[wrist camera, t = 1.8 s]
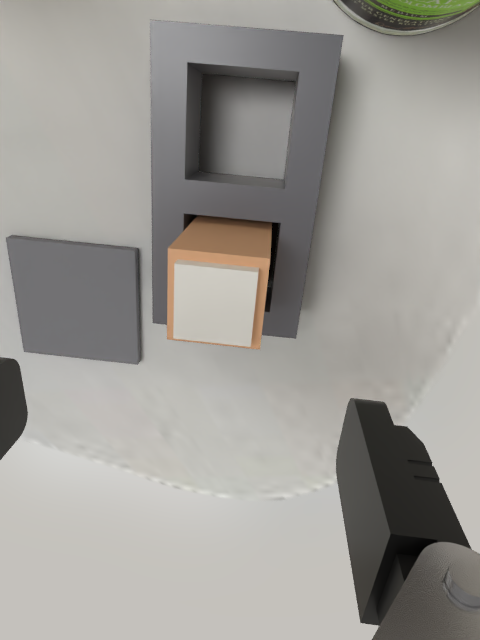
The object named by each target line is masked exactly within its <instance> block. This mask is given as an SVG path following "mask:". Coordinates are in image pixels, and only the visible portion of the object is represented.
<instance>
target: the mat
mask: <svg viewBox="0 0 480 640" xmlns="http://www.w3.org/2000/svg"><path fill="white" fill-rule="evenodd" d="M6 242H7V248H8V254H9V261H10V267H11V273H12V279H13V286H14V292H15V298H16V304H17V311H18V317H19V323H20V330H21V336H22V342H23V348H24V352H31V353H39V354H48V355H57V356H66V357H75V358H84V359H93V360H102V361H110V362H119V363H128V364H137V365H138V364H139V362H140V318H139V276H138V248H130V247H120V246H111V245H101V244H91V243H81V242H71V241H62V240H52V239H42V238H32V237H22V236H13V235H11V236H9V237H6Z"/></svg>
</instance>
